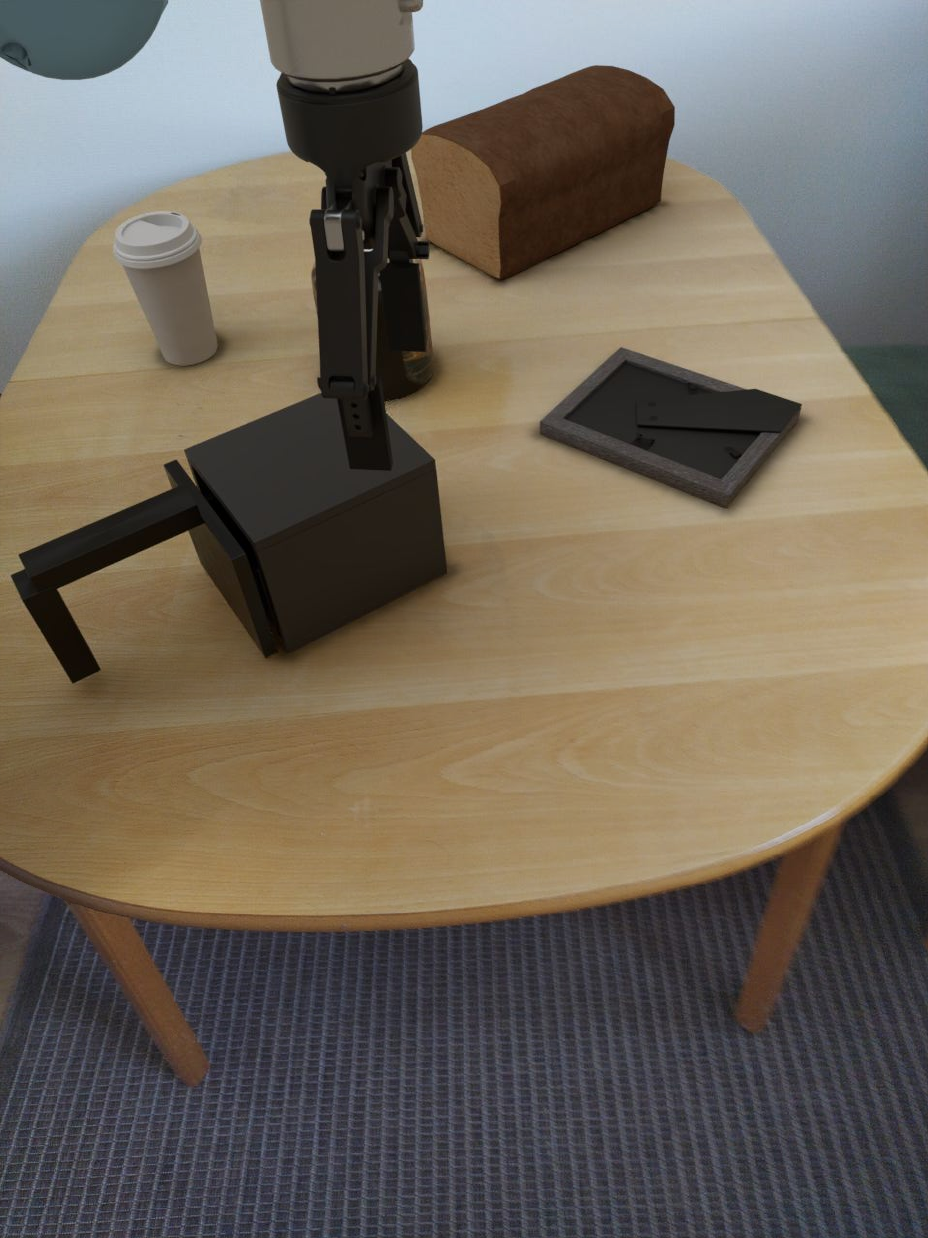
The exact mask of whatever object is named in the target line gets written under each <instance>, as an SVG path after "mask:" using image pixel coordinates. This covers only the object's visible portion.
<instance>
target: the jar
mask: <svg viewBox="0 0 928 1238" xmlns="http://www.w3.org/2000/svg"><path fill="white" fill-rule="evenodd" d="M372 250H373V249H371V250H364V251H372ZM387 263H389V259H388V261H387ZM413 263H419V268H420V279H421V289H422V300H423V310H424V321H425V331H426V342H427V348H426V351H425V352H410V351H389V345H388V337H387V329H386V322H385V314H384V306H383V298H382V291H381V283H380V275H379V277H378V310H377V342H376V375H375V376H376V377H381V380H382V387H383V394H384V401H388V400H393V399H398V398H399V399H400V398H402V397H405V396H408V395H411V394H413V393H415V392H417V391H419V390H420V389H422V388H423V387H424V386H425V385H427V384H428V383H429V381H430V380H431V378H432V377H433V374H434V371H435V363H434V362H435V361H434V350H433V349H434V348H433V340H432V329H431V319H430V309H429V299H428V290H427V284H426V276H425V275H426V274H425V270H424V265H423V262H422V259H413ZM310 277H311V278H310V279H311V287H312V288H311V289H312V296H313V300H314V306H315V312H316V317H317V319H318V311H317V289H316V267H315V262H314V263H313V265H312V268H311V273H310Z"/></svg>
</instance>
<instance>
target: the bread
mask: <svg viewBox="0 0 928 1238" xmlns="http://www.w3.org/2000/svg"><path fill="white" fill-rule="evenodd" d="M675 109H676V107H675V105H674V103H673V102H672V101H671V99H670V97H669V96H668V94H667V92H666V91H665V89H664V88H662V87H661V86H660V85H658V84H657V83H655V82H654V81H652V80H651V79H649V78H647V77H646V76H643V75H642V74H640V73H637V72H635V71H632V70H629V69H626V68H623V67H619V66H615V65H614V66H613V65H603V64H602V65H598V64H595V65H590V66H587V67H584V68H582V69H578V70H577V71H573V72H571V73H568V74H566V75H564V76H562V77H559V78H557V79H554V80H552V81H550V82H547V83H544V84H542V85H539V86H536V87H533V88H531V89H529V90H527V91H525V92H523V93H521V94H519V95H516V96H513V97H509V98H507V99H504V100H503V101H500V102H497V103H495V104H492V105H490V106H487V107H485V108H483V109H479V110H476V111H473V112H469V113H467V114H464V115H461V116H459V117H456V118H454V119H451V120H447V121H445V122H442V123H439V124H436V125H433V126H431V127H429V128H427V129H425V130H423V131H422V134H421V137H420V139H419V141H418V142H417V143H416V145H415V146H414V147H413V148H412V149H410V153H411V155H410V156H411V162H412V165H413V169H414V173H415V176H416V180H417V181H416V182H417V185H418V190H419V196H420V202H421V210H422V217H423V226H424V232H425V239H426V240H427V241H429V242H430V243H432V244H433V245H434V246H436V247H438V248H440V249H441V250H443V251H445V252H447V253H448V254H451V255H453V256H454V257H456V258H458V259H459V260H461V261H463V262H465V263H467V264H468V265H470V266H472V267H474V268H476V269H478V270H479V271H482V272H483V273H485V274H487V275H488V276H490V277H492V278H494V279H497V280H503V279H506V278H508V277H510V276H512V275H516V274H517V273H519V272H521V271H523V270H525V269H527V268H529V267H531V266H533V265H535V264H537V263H540V262H541V261H544V260H545V259H547V258H549V257H552V256H554V255H557V254H558V253H562V252H563V251H565V250H567V249H570V248H571V247H573V246H575V245H577V244H579V243H581V242H583V241H584V240H587V239H590V238H592V237H594V236H596V235H598V234H600V233H603V232H604V231H606V230H608V229H610V228H612V227H614V226H616V225H617V224H620V223H622V222H623V221H626V220H627V219H630V218H631V217H634V216H636V215H639V214H640V213H643V212H644V211H646V210H648V209H650V208H651V207H652V208H653V207H654V206H656V205H658V204H659V203H661V202H662V192H663V191H662V190H663V189H662V188H663V181H664V173H665V168H666V162H667V156H668V151H669V144H670V140H671V137H672V134H673V131H674V128H675V123H676V122H675V120H676V119H675V116H676V112H675V111H676V110H675Z"/></svg>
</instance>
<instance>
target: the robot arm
mask: <svg viewBox="0 0 928 1238" xmlns="http://www.w3.org/2000/svg"><path fill="white" fill-rule="evenodd" d="M259 3H260V8H261V9H260V10H261V15H262V20H263V27H264V31H265V37H266V42H267V48H268V53H269V54H268V55H269V60H270V63H271V65H272V66H273V68H274V69H276V71H278V72H280V75H279V78H278V79H277V81H276V91H277V96H278V102H279V107H280V112H281V117H282V123H283V128H284V129H283V130H284V134H285V139H286V144H287V146H288V148H289V150H290V151H291V152H292V153H293V155H295V156H296V158H298V159H300V160H302V161H303V162H306V163H310V164H313V165H314V166H316V167H317V168H318V169H320V170H321V171H322V172H323V173H324V175H325V177H326V178H325V186H322V188H321V192H320V195H321V196H320V208H319V209H318V208H312V209H311V211H310V214H309V221H308V222H309V226H310V232H311V240H312V246H313V253H314V263H315V267H316V289H317V311H318V318H317V331H318V353H319V354H318V355H319V374H320V376H319V377H316V380H317V381H316V382H317V387H318V388H319V390H320V393H321V395H322V397H323V398H332V399H337V402H338V407H339V413H340V418H341V423H342V429H343V434H344V440H345V445H346V450H347V456H348V461H349V467H350V469H360V470H382V471H391V469H392V466H393V459H392V452H391V444H390V437H389V430H388V423H387V416H386V413H387V408H386V403H385V400H384V394H383V387H382V380H381V377H376V376H375V375H376V342H377V310H378V277H379V275H380V283H381V291H382V298H383V306H384V314H385V322H386V329H387V337H388V345H389V351H410V352H425V351H426V348H427V342H426V331H425V321H424V310H423V300H422V289H421V279H420V268H419V263H413V259H421V260H429V258H430V253H431V252H430V251H431V250H430V249H431V248H430V241H429V240H418V238H422V235H423V232H424V223H423V222H422V216H421V213H420V209H419V204H418V200H417V195H416V191H415V187H414V182H413V178H412V174H411V169H410V165H409V161H408V156H407V155H408V154H407V153H408V152H409V151H411V149H412V148H413V147H414V146H415V145H416V143H417V142H418V141H419V139H420V137H421V134H422V132H423V128H424V127H423V116H422V102H421V93H420V92H421V91H420V90H421V89H420V80H419V70H418V67H417V66H416V65H415V64H414V63H413V61H412V60H411V59H410V57H411V56H412V55H413V53H414V51H415V45H416V43H415V42H416V41H415V31H414V19H413V18H414V17H413V13H416V12H419V11H421V10H422V8H423V7H424V0H259ZM168 4H169V0H0V58H1V59H2V60H4V61H6V62H8V63H9V64H11V65H12V66H15V67H17V68H19V69H22V70H24V71H26V72H29V73H32V74H33V75H37V76H40V77H44V78H47V79H52V80H53V79H55V80H60V81H82V80H91V79H95V78H99V77H102V76H105V75H108V74H110V73H112V72H115V71H116V70H119V69H120V68H122V67H123V66H124V65H126V64H127V63H128V62H129V61H131V60H132V59H134V58H135V57H136V56H137V55H138V54H139V53H140V51H141V50H142V49H144V47H145V46H146V45H147V43H148V42H149V41H150V39H151V38H152V36H153V34H154V32H155V30H156V29H157V27H158V25H159V22H160V20H161V18H162V15H163V13H164V12H165V9H166V7H167V6H168ZM371 249H373V250H372V251H364V250H371ZM388 259H389V263H387V261H388Z"/></svg>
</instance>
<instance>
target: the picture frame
mask: <svg viewBox="0 0 928 1238" xmlns="http://www.w3.org/2000/svg"><path fill="white" fill-rule="evenodd" d="M802 405H803V404H802V403H800V402H797V401H794V400H792V399H788V398H785V397H782V396H779V395H776V394H773V393H770V392H767V391H764V390H762V389H758V388H748V389H747V388H744V387H741V386H738V385H736V384H732V383H729V382H727V381H724V380H721V379H717V378H714V377H712V376H708V375H705V374H702V373H699V372H697V371H693V370H691V369H687V368H684V367H681V366H679V365H676V364H673V363H670V362H666V361H664V360H661V359H658V358H656V357H652V356H649V355H646V354H643V353H640V352H637V351H634V350H631V349H628V348H625V347H622V346H620V347H619V348H618V349H617V350H616V351H615V352H613V354H612V355H610V356H609V357H608V358H607V359H606V360H605V361H604V362H603V363H602V364H600V366H598V367H597V368H596V369H595V370H594V371H593V372H591V374H590V375H589V376H587V378H586V379H584V380H583V381H582V382H581V383H580V384H579V385H578V386H577V387H575V389H573V390H572V391H571V392H570V393H569V394H568V395H567V396H566V397H564V399H562V401H560V403H558V404H557V405H556V406H555V407H554V408H553V409H551V411H549V412H548V413H547V414H546V415H544V417H542V419H541V420H540V421H539V434H540V435H543V436H545V437H547V438H549V439H552V440H555V441H558V442H559V443H562V444H564V445H567V446H570V447H572V448H575V449H578V450H580V451H582V452H584V453H587V454H590V455H592V456H594V457H597V458H600V459H603V460H604V461H607V462H610V463H612V464H615V465H617V466H620V467H622V468H624V469H627V470H630V471H632V472H635V473H637V474H639V475H642V476H645V477H647V478H649V479H652V480H655V481H657V482H659V483H662V484H665V485H667V486H670V487H672V488H674V489H678V490H679V491H682V492H685V493H687V494H689V495H693V496H695V497H697V498H700V499H702V500H705V501H707V502H710V503H712V504H715V505H717V506H720V507H722V508H725V509H727V508H728V507H729V505H730V504H731V503H732V501H733V500H734V499H735V498H736V497H737V496H738V495H739V494H740V492H741V491H742V489H743V488H744V487H745V486H746V485H747V483H748V482H749V481H750V480H751V478H752V477H754V475H755V473H756V472H757V471H758V470H759V469H760V468H761V466H762V465H763V464H764V463H765V461H766V460H767V459H768V458H769V457H770V455H772V453H773V452H774V451H775V449H776V448H777V447H778V446H779V445H780V443H782V441H783V439H784V438H785V437H786V436H787V435H788V433H789V432H790V431H791V430H792V429H793V428H794V426H795V425H796V424H797V422H798V421H799V420H800V419H799V418H800V415H801V411H802Z"/></svg>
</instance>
